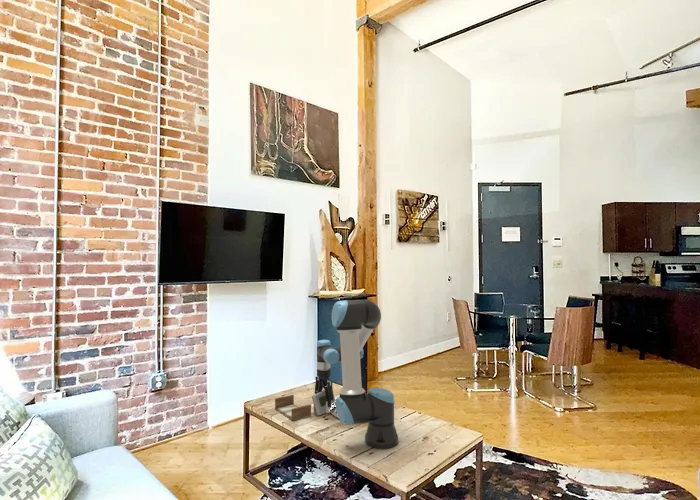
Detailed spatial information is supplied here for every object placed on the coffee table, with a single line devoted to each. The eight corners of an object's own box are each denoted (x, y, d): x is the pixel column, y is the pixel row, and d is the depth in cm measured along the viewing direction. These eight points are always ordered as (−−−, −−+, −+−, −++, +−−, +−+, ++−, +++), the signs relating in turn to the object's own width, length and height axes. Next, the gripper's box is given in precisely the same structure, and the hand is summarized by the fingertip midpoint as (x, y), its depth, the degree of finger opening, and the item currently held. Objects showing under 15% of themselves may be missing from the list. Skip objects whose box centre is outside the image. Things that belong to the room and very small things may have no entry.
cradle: (311, 416, 217) (311, 404, 217) (292, 421, 210) (292, 409, 210) (292, 405, 233) (292, 394, 233) (275, 409, 227) (275, 398, 227)
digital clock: (317, 417, 215) (317, 397, 215) (307, 412, 222) (307, 392, 222) (340, 409, 226) (340, 390, 226) (330, 405, 233) (330, 386, 233)
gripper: (340, 371, 218) (340, 414, 218) (319, 363, 235) (319, 403, 235) (328, 374, 214) (328, 417, 214) (308, 365, 231) (308, 406, 230)
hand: (323, 410), depth 224 cm, fingers closed on digital clock, 8 cm apart
